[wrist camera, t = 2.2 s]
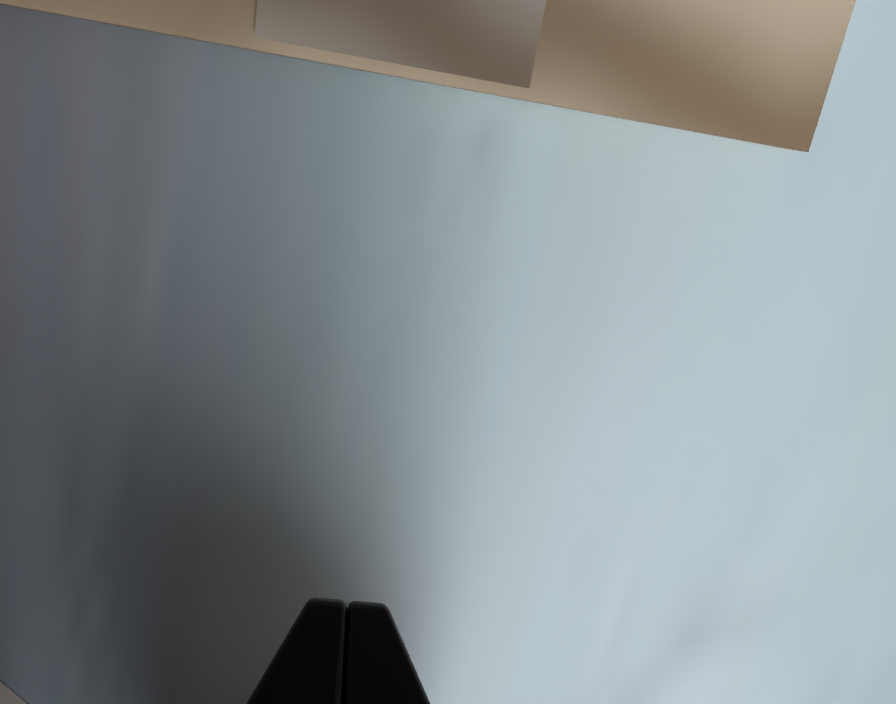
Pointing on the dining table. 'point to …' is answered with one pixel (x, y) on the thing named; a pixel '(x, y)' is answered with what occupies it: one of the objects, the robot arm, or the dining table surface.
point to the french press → (9, 696)
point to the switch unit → (548, 50)
